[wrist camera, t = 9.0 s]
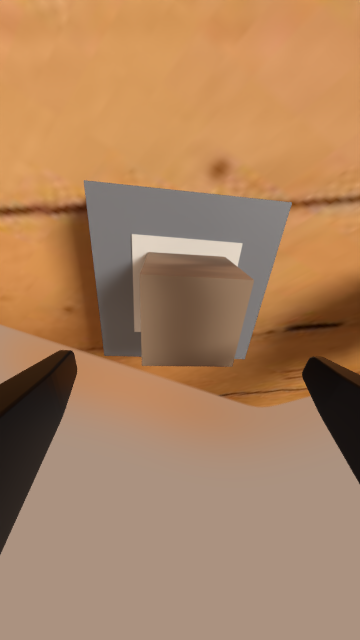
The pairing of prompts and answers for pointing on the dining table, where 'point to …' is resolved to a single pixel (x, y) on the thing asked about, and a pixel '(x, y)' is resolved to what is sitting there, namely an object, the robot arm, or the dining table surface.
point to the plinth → (173, 247)
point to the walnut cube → (191, 309)
